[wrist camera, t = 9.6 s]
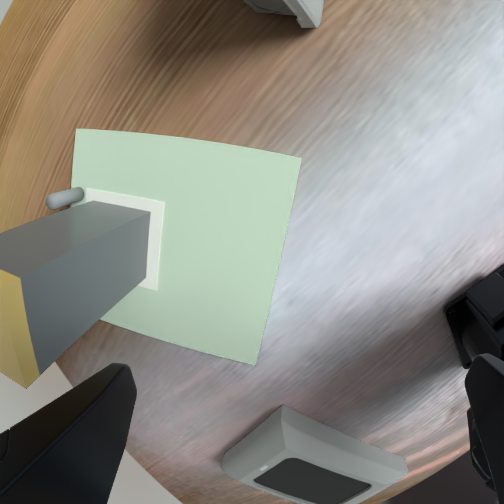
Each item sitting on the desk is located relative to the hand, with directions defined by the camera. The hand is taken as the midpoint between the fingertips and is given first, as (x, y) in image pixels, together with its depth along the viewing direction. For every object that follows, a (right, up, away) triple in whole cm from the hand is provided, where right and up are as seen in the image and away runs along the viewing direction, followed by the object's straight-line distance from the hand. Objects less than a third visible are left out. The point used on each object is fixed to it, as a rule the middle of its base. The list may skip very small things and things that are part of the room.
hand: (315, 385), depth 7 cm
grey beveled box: (+5, -16, +19) cm, 25 cm away
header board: (-7, +3, +13) cm, 16 cm away
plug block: (-10, +4, +13) cm, 17 cm away
